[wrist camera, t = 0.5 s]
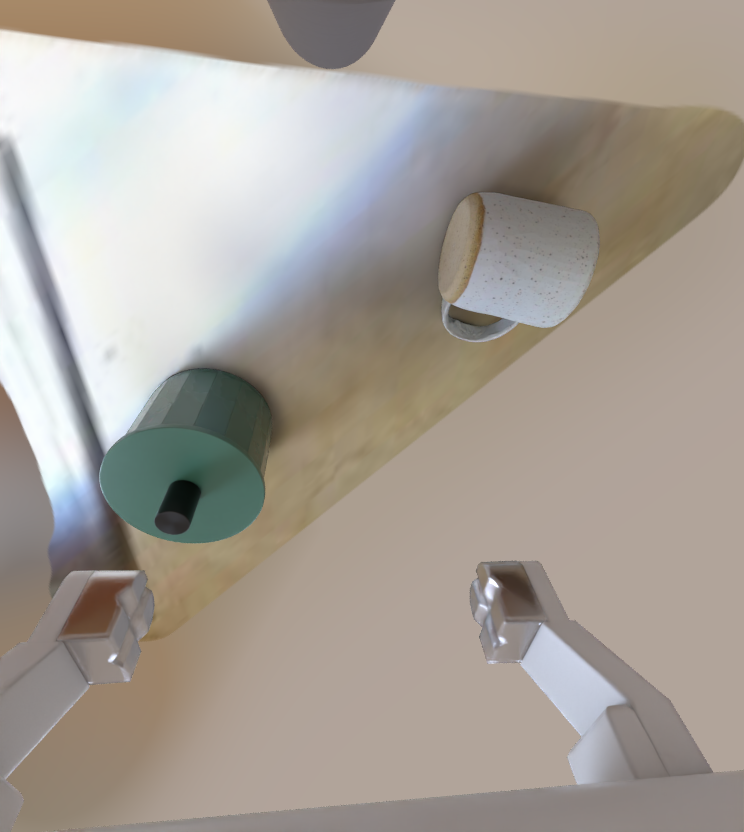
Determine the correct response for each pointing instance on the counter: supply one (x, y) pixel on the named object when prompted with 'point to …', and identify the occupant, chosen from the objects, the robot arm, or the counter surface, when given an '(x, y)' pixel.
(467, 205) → the ceramic mug
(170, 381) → the pot
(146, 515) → the pot lid
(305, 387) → the counter surface
